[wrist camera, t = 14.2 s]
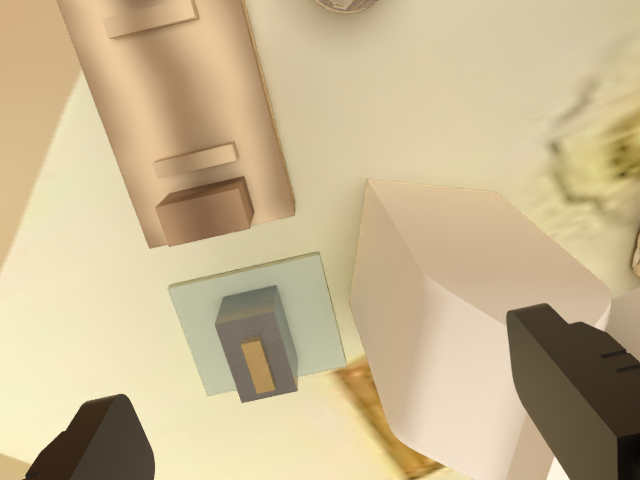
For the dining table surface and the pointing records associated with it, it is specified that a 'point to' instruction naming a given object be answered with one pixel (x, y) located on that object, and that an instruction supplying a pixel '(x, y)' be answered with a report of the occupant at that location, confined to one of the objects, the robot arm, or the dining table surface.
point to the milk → (460, 321)
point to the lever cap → (258, 344)
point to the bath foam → (345, 5)
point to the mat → (299, 306)
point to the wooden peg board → (183, 113)
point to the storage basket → (637, 259)
